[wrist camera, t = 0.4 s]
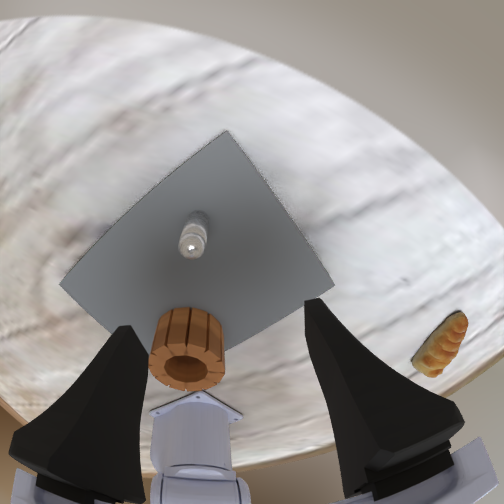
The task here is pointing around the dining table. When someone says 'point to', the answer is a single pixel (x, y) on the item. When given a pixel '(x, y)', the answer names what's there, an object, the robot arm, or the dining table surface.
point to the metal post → (194, 235)
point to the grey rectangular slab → (210, 263)
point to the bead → (188, 350)
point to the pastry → (441, 346)
